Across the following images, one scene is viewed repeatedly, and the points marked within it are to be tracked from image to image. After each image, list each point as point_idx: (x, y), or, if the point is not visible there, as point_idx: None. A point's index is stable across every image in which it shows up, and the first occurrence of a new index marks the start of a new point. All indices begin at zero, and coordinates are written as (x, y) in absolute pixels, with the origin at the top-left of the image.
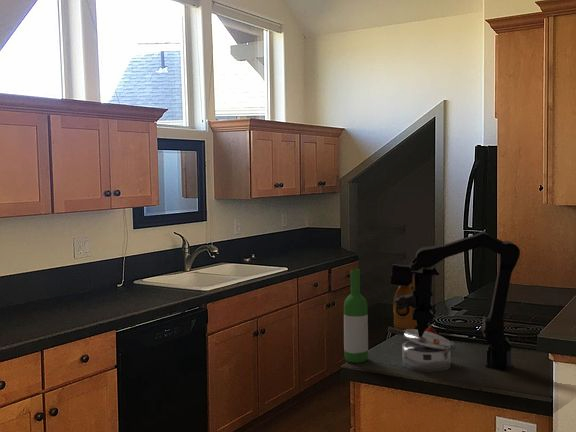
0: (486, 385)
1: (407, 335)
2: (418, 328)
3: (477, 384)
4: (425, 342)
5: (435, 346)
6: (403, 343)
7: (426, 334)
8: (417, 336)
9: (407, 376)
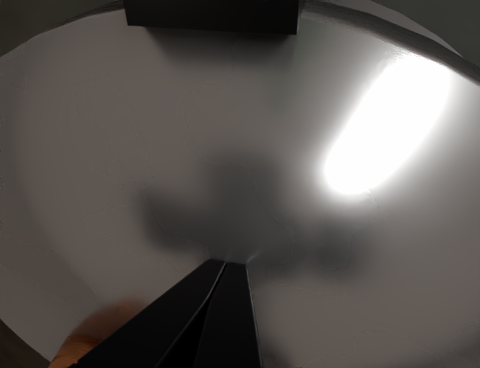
0: (14, 359)
1: (29, 81)
2: (109, 345)
3: (13, 335)
4: (4, 272)
5: (15, 324)
6: (366, 3)
7: (383, 361)
8: (157, 235)
9: (8, 14)
